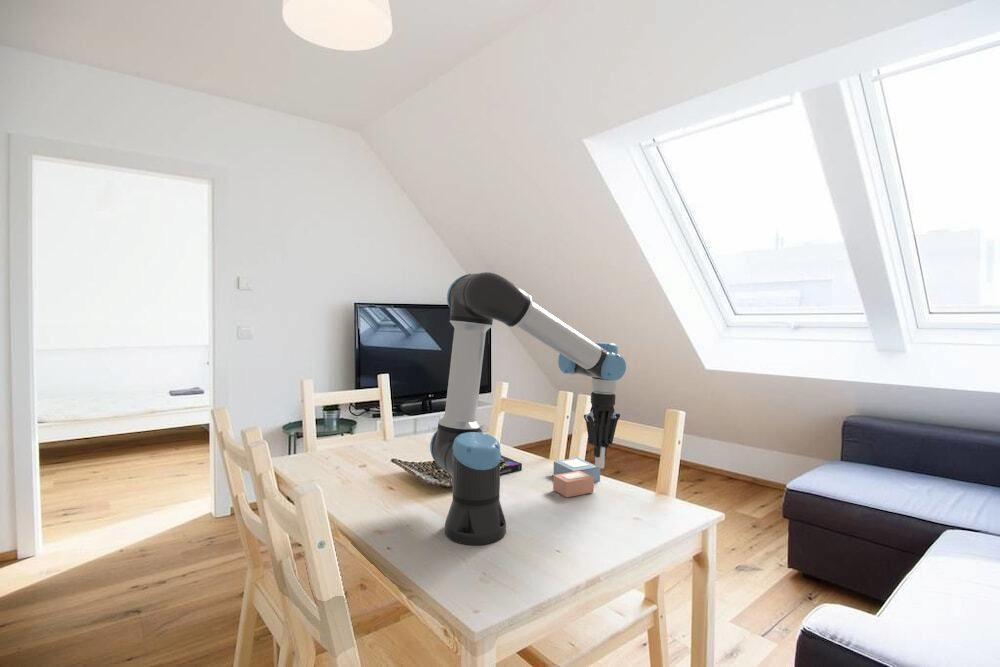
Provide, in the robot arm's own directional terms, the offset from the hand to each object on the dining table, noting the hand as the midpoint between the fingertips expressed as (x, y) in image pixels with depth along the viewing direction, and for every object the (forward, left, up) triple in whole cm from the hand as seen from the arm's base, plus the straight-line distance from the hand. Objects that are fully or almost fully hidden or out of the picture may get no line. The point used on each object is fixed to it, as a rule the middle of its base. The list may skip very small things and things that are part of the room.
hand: (599, 466), depth 156 cm
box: (+29, +24, -7) cm, 39 cm away
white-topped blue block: (+10, +1, -6) cm, 12 cm away
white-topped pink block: (0, +10, -6) cm, 12 cm away
